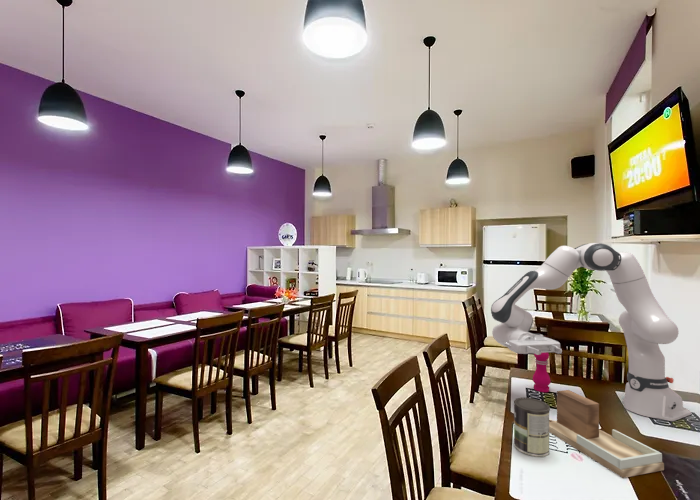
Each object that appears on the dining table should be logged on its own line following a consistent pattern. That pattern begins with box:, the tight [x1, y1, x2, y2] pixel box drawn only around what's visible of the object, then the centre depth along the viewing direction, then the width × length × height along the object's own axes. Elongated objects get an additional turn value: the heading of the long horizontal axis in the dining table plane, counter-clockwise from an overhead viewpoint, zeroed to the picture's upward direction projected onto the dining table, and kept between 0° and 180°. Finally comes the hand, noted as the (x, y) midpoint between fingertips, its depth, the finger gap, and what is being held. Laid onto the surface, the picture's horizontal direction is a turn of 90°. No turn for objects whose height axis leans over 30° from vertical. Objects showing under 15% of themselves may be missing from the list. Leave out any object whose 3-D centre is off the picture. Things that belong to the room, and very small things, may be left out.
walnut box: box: [556, 389, 600, 439], centre depth 123 cm, size 5×12×11 cm, turn 14°
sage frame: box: [577, 428, 663, 470], centre depth 109 cm, size 15×14×2 cm
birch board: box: [549, 420, 665, 479], centre depth 115 cm, size 15×29×2 cm, turn 14°
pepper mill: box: [532, 352, 552, 393], centre depth 163 cm, size 7×7×20 cm
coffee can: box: [513, 397, 551, 458], centre depth 115 cm, size 10×10×14 cm
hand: (550, 352), depth 134 cm, fingers open, 8 cm apart
